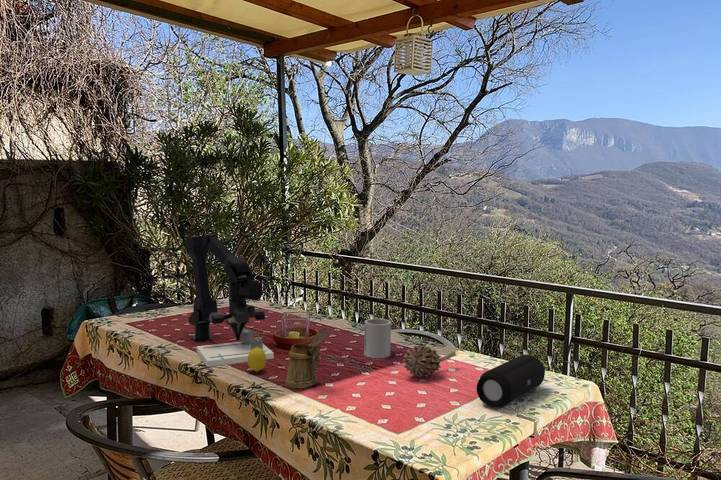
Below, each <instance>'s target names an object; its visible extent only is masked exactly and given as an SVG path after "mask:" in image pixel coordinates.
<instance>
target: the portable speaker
mask: <svg viewBox="0 0 721 480" xmlns="http://www.w3.org/2000/svg"><path fill="white" fill-rule="evenodd" d="M545 373H546V370H545V366H544V363H543V362H542V361H541V360H540V359H539V358H538V357H536V356H534V355H531V354H520V355H518V356H516V357H514V358H512V359H510V360H507V361H506V362H503V363H501V364H499V365H497V366H495V367H493V368H491V369H489V370H486V371H485V372H483V373H482V374H481V375H480V376H479V379H478V380H477V383H476V393H477V396H478V398H479V400H480V401H481V402H482V403H483V404H484V405H486V406H488V407H490V408H495V407H502V408H505V407H506V406H508V405H510V404H511V403H513V402H514V401H515V400H517V399H519V398H520V397H522V396H525V394H527V393H529V392H531V391H532V390H534V389H536V388H537V387H539V386H541V385H542V383H543V382H544V380H545Z"/></svg>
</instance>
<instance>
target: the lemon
mask: <svg viewBox="0 0 721 480" xmlns="http://www.w3.org/2000/svg"><path fill="white" fill-rule="evenodd" d="M266 362H267V360H266V356H265V353H264V351H263V350H262V349H260V348H258V347H256V348H254V349H252V350H251V351H250V352H249V355H248V362H247V364H248V367H249V368H250V369H251V370H252V371H255V373H258V372H260V371H261V370H262V369H264V367H265V365H266Z"/></svg>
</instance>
